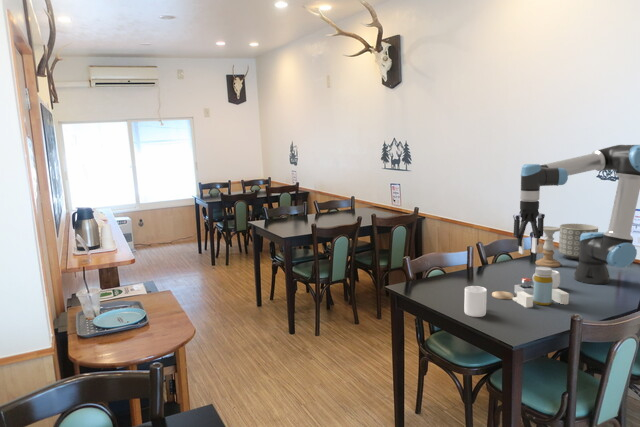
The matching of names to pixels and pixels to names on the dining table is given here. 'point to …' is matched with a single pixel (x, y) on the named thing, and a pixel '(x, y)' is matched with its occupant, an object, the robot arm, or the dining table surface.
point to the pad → (502, 295)
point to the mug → (554, 279)
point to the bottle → (543, 286)
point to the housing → (526, 296)
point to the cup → (475, 301)
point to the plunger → (526, 283)
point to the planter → (573, 238)
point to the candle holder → (548, 249)
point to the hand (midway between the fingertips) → (527, 252)
